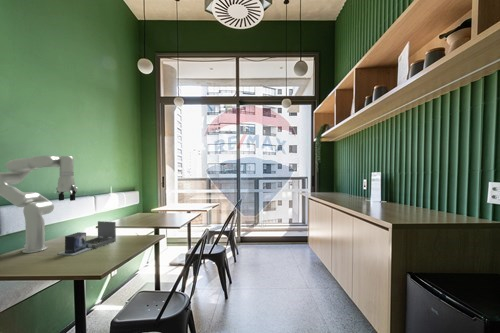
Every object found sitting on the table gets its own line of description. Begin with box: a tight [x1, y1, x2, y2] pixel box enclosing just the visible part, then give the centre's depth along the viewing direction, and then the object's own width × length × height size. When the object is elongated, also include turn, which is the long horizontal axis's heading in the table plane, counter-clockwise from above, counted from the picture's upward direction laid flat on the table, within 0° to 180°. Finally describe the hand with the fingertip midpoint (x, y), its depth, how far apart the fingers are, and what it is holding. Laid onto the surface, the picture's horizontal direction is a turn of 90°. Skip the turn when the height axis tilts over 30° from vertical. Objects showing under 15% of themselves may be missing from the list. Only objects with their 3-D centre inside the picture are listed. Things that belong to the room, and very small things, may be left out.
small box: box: [64, 231, 87, 253], centre depth 158 cm, size 11×6×10 cm, turn 175°
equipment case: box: [86, 220, 117, 249], centre depth 173 cm, size 15×18×14 cm
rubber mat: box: [57, 248, 94, 257], centre depth 158 cm, size 13×13×1 cm
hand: (67, 200), depth 164 cm, fingers open, 9 cm apart
